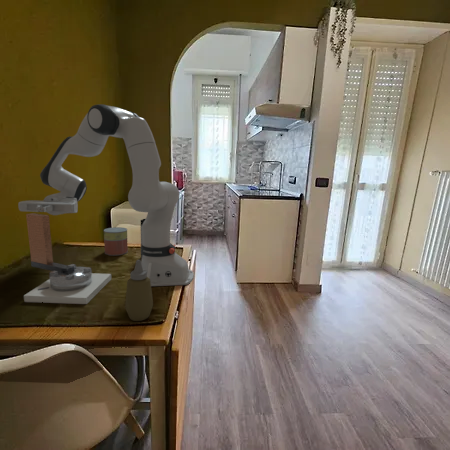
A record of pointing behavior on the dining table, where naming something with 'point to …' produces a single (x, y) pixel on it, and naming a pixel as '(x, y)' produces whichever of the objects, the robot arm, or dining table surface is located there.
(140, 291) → the squeeze bottle
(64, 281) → the silver brown l-shaped piece
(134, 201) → the robot arm
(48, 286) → the white square board
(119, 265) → the dining table surface
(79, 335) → the dining table surface
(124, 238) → the canned food
